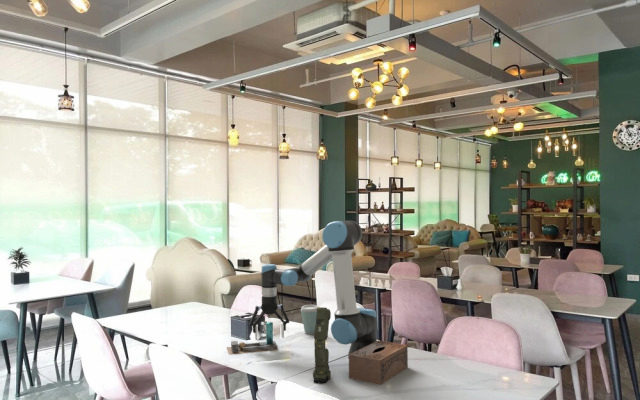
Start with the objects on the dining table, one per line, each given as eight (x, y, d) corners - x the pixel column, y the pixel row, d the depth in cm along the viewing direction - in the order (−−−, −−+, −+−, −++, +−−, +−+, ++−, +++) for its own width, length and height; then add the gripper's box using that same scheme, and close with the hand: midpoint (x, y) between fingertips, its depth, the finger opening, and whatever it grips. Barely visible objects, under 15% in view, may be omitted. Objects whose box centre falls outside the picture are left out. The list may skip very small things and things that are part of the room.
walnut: (246, 350, 239) (246, 342, 239) (238, 350, 238) (238, 343, 238) (245, 348, 242) (245, 340, 242) (238, 348, 241) (238, 341, 241)
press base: (273, 345, 251) (273, 336, 251) (278, 352, 238) (278, 342, 238) (226, 349, 245) (226, 339, 245) (228, 357, 232) (228, 347, 232)
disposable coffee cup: (319, 335, 270) (319, 308, 271) (300, 335, 271) (299, 308, 271) (319, 330, 281) (319, 304, 281) (301, 330, 281) (300, 304, 282)
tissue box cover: (378, 362, 223) (378, 340, 223) (407, 368, 215) (407, 345, 215) (349, 378, 202) (348, 354, 202) (380, 385, 194) (379, 360, 194)
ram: (274, 343, 247) (274, 321, 247) (276, 345, 242) (276, 323, 243) (259, 344, 245) (258, 322, 245) (260, 347, 240) (260, 324, 240)
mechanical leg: (326, 385, 192) (329, 307, 199) (308, 383, 193) (311, 306, 201) (332, 381, 205) (334, 308, 212) (315, 380, 206) (318, 307, 214)
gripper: (291, 292, 251) (292, 334, 251) (243, 295, 245) (243, 338, 244) (295, 295, 244) (295, 338, 243) (245, 298, 237) (245, 342, 237)
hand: (269, 338), depth 244 cm, fingers open, 13 cm apart
